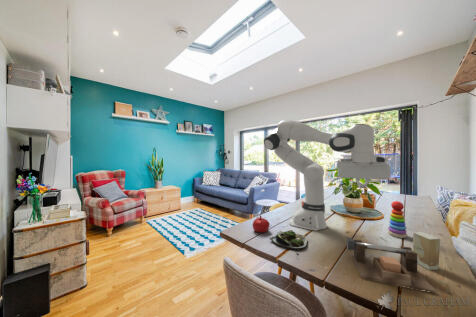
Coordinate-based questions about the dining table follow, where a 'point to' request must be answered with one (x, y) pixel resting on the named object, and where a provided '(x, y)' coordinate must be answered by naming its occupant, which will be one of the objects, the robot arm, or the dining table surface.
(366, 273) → the bearing bracket
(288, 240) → the salad plate
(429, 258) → the skincare box
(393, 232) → the stacking toy
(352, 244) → the shaft
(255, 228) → the pomegranate
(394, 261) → the block
